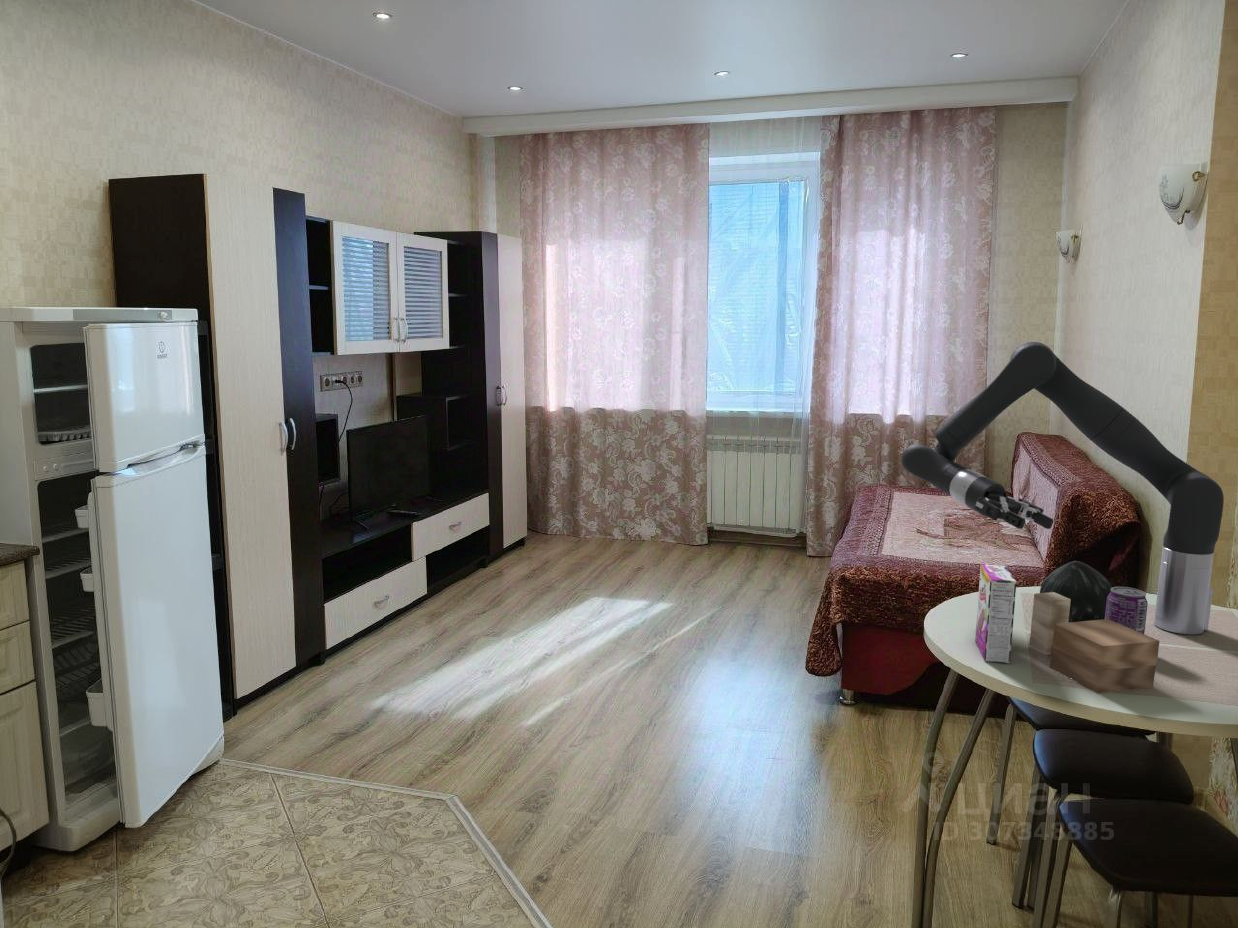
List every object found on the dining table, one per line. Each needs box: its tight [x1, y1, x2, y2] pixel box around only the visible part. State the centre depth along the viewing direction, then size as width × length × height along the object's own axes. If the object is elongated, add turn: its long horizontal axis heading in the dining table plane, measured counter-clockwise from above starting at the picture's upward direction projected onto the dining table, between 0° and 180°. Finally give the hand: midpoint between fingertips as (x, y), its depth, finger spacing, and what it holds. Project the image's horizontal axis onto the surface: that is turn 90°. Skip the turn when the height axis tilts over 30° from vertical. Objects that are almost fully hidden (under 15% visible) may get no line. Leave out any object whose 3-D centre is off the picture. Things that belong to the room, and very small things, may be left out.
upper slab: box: [1052, 619, 1160, 671], centre depth 170 cm, size 12×12×4 cm
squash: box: [1039, 560, 1112, 623], centre depth 199 cm, size 14×15×15 cm
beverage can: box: [1105, 586, 1149, 634], centre depth 184 cm, size 7×7×12 cm
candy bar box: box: [974, 563, 1017, 664], centre depth 181 cm, size 11×5×16 cm, turn 168°
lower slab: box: [1049, 647, 1157, 694], centre depth 171 cm, size 12×12×4 cm
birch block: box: [1029, 592, 1071, 656], centre depth 183 cm, size 5×5×11 cm
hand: (1037, 524), depth 187 cm, fingers open, 8 cm apart
